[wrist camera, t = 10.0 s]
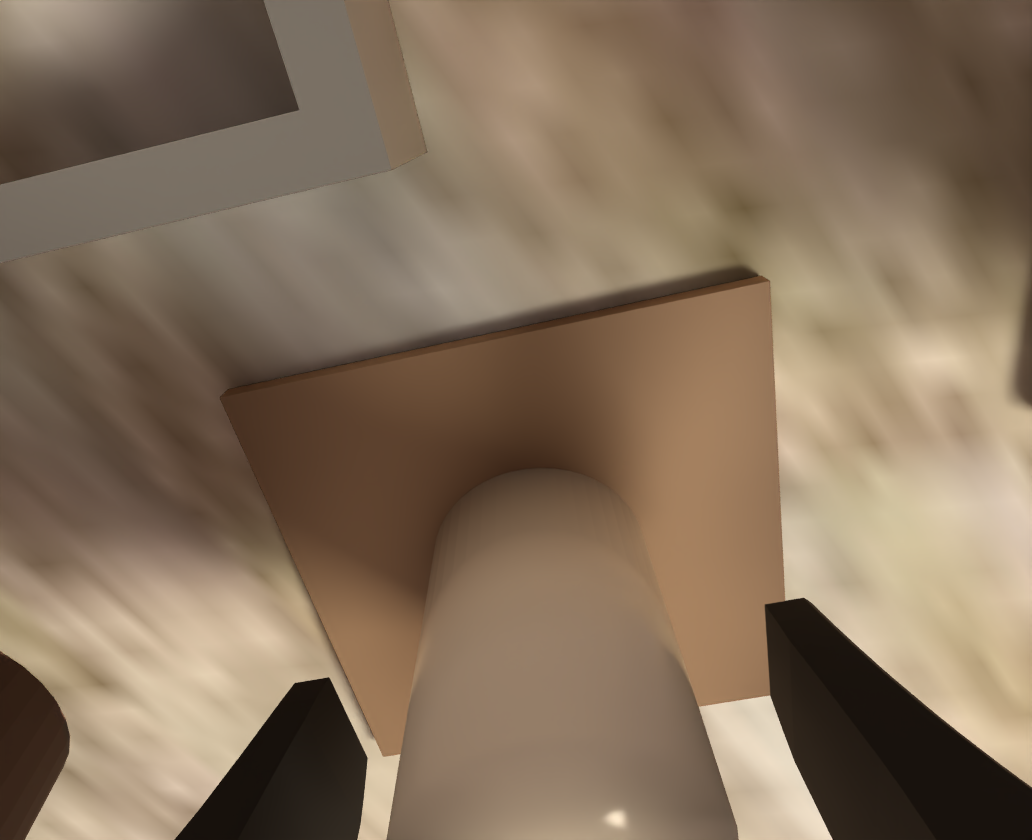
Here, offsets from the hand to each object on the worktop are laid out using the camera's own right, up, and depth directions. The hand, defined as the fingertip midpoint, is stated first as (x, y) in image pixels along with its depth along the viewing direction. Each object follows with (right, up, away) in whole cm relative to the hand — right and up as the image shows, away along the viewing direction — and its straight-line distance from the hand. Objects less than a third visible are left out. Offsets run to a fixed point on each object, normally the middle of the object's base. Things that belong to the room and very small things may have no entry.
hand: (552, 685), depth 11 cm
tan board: (0, +2, +3) cm, 4 cm away
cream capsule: (0, +1, +3) cm, 3 cm away
